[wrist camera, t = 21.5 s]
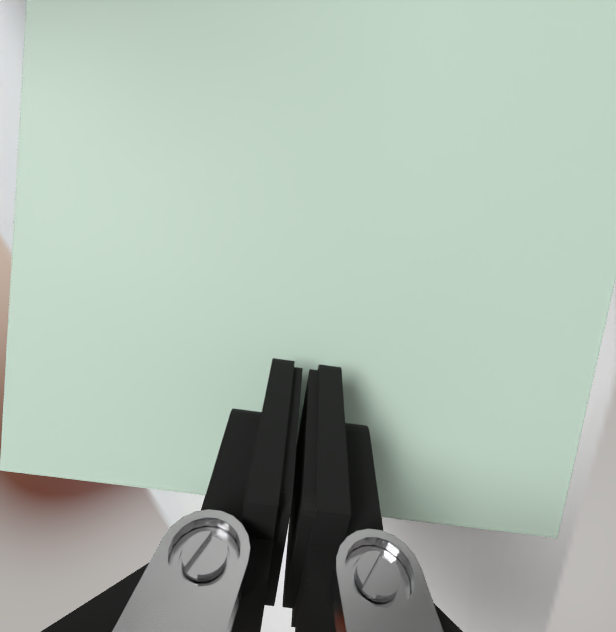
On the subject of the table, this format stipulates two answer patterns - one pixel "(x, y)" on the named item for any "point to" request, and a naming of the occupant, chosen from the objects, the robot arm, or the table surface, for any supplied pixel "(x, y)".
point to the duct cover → (315, 238)
